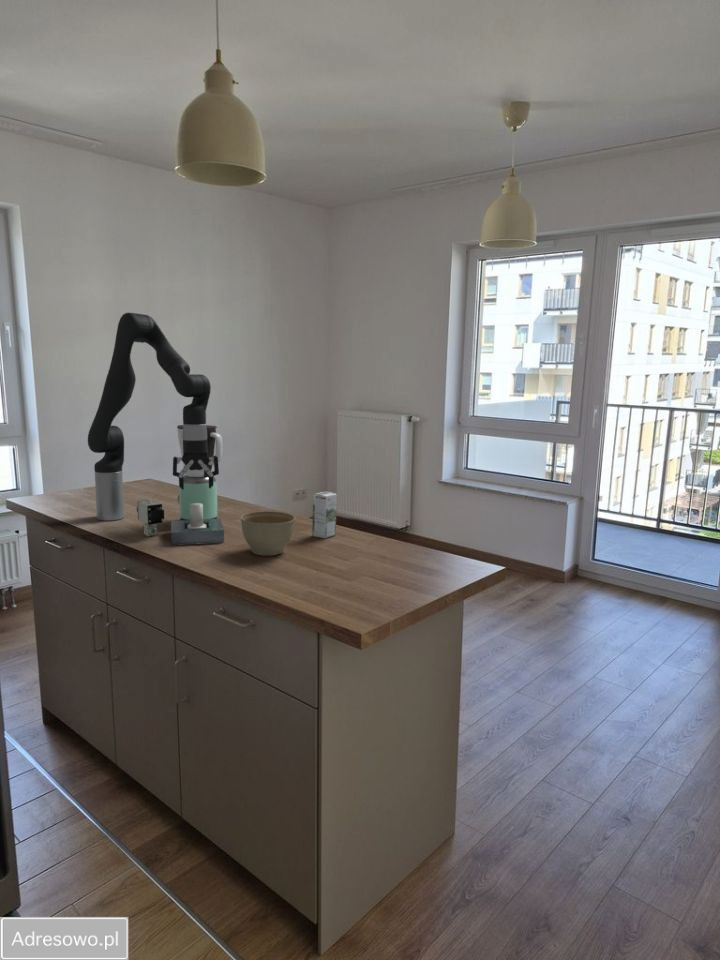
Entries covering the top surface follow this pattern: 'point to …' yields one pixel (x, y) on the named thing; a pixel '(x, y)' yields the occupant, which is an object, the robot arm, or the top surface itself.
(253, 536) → the planter bowl
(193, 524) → the white stepped cylindrical peg
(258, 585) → the top surface
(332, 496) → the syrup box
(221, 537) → the bore block
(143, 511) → the pneumatic valve
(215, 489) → the mint green blender
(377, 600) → the top surface
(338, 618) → the top surface
